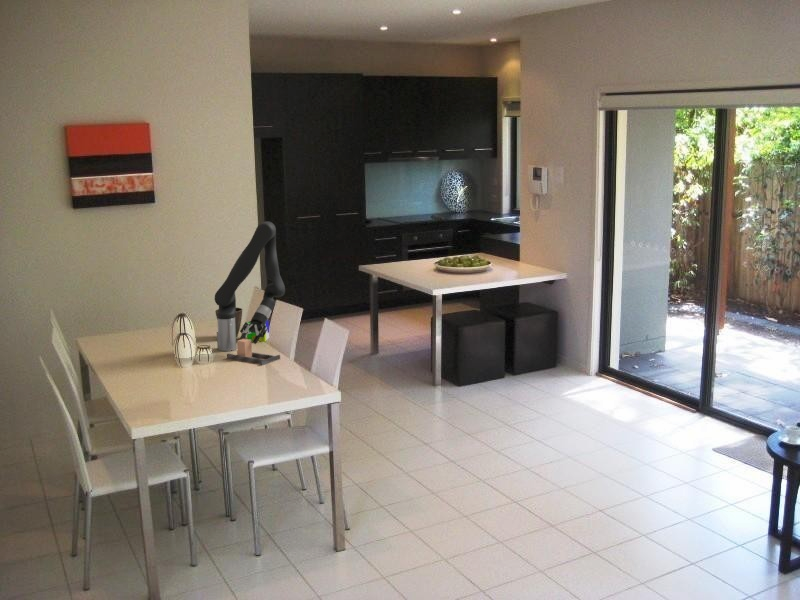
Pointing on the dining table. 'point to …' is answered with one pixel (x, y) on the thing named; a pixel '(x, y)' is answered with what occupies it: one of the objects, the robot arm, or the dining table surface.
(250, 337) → the puzzle toy
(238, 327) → the plant pot
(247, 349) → the terracotta block
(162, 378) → the dining table surface
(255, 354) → the dark grey flat frame
